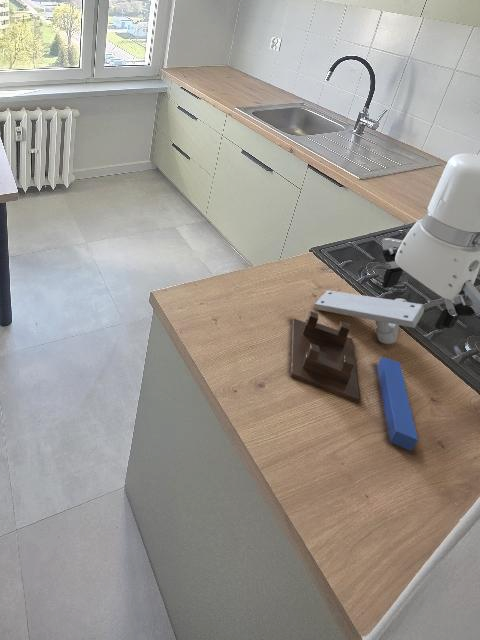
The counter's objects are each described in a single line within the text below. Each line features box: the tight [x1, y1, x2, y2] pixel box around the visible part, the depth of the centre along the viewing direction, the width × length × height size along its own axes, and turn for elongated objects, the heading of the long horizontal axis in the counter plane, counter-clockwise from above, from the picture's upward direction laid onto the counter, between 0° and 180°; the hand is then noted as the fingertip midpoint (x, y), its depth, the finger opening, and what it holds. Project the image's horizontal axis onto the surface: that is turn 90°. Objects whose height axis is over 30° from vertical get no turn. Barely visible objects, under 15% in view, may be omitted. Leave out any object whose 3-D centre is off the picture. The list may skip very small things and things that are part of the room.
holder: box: [290, 310, 361, 403], centre depth 87 cm, size 12×15×7 cm
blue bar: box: [376, 356, 419, 452], centre depth 79 cm, size 3×16×3 cm, turn 155°
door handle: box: [314, 289, 425, 345], centre depth 97 cm, size 18×8×20 cm
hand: (414, 305), depth 75 cm, fingers open, 9 cm apart
